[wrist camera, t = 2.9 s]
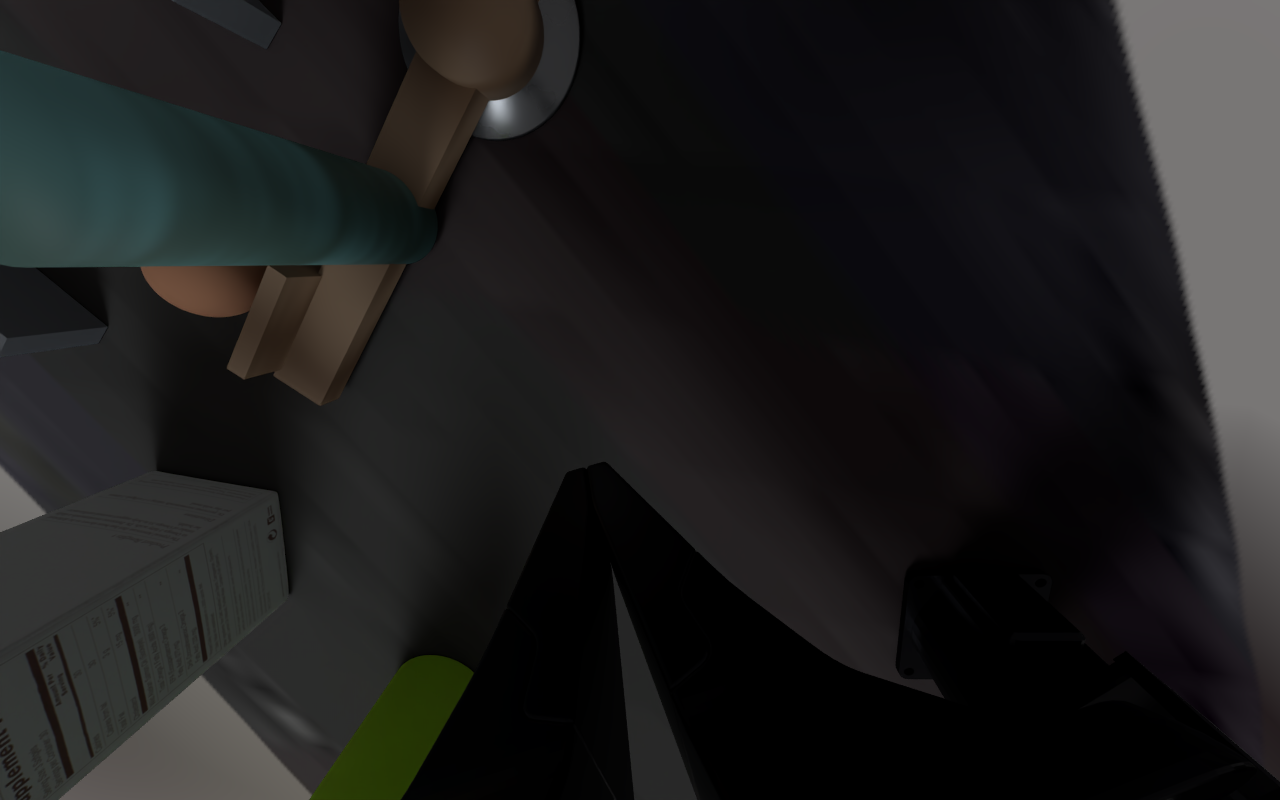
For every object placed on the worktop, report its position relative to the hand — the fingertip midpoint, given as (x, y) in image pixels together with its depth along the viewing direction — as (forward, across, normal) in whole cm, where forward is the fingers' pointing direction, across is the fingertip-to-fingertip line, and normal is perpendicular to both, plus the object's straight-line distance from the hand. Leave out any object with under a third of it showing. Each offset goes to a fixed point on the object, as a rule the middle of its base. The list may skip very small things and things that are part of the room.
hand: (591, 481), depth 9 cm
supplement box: (+16, +22, +10) cm, 28 cm away
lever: (+15, +5, -4) cm, 17 cm away
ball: (+15, +14, -4) cm, 21 cm away
